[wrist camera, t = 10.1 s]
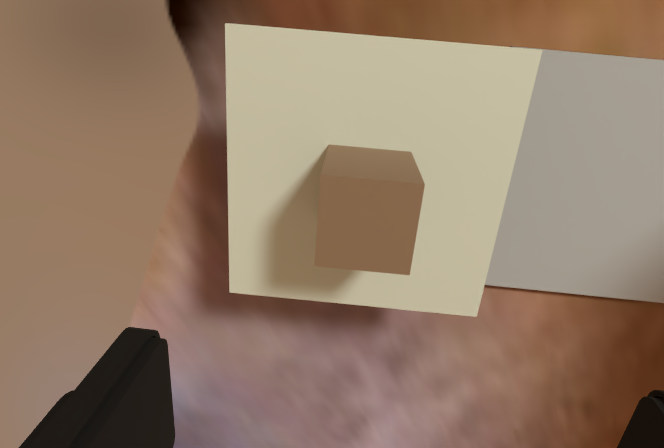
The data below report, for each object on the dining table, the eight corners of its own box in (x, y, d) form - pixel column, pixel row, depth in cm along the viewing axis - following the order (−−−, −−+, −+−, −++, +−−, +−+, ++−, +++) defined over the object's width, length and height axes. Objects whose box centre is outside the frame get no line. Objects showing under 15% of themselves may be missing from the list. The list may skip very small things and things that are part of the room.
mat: (782, 71, 26) (791, 71, 26) (676, 300, 33) (682, 304, 32) (509, 46, 27) (513, 46, 26) (458, 278, 33) (459, 282, 33)
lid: (536, 49, 20) (598, 56, 15) (473, 308, 26) (502, 380, 21) (229, 23, 21) (184, 21, 15) (233, 285, 26) (200, 350, 21)
